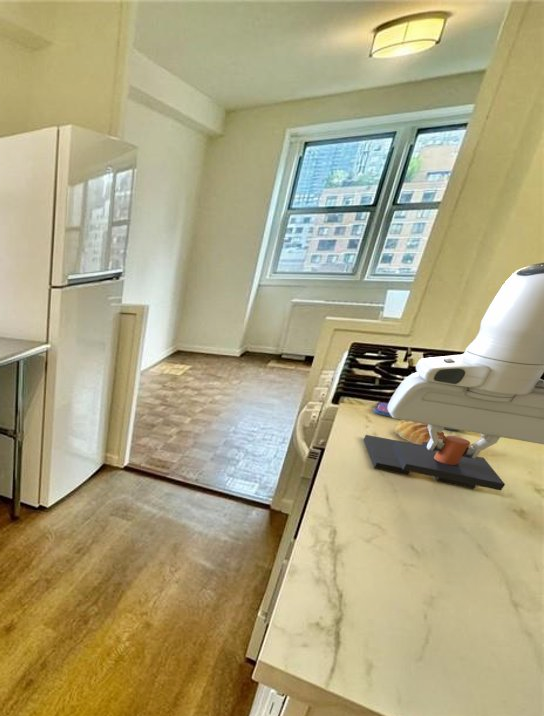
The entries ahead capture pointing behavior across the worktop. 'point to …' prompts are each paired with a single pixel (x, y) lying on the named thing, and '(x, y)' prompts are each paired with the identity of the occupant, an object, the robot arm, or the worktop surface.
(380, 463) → the notch pad
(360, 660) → the worktop surface
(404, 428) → the pastry
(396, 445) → the tab pad
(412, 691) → the worktop surface
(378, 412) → the smartphone
